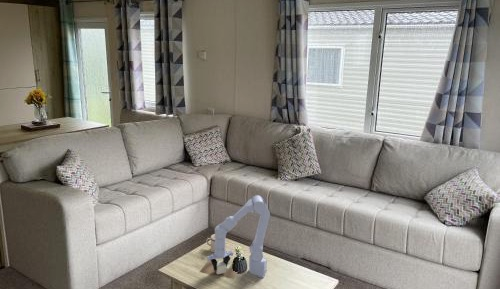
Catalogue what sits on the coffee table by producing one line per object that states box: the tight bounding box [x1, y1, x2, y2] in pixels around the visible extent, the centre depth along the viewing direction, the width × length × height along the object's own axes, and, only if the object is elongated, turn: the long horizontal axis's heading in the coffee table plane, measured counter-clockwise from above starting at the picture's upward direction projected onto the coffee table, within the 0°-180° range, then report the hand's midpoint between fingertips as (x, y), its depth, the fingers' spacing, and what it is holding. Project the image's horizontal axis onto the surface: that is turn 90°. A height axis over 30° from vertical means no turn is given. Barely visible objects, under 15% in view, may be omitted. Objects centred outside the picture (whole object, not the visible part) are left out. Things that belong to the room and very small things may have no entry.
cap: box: [216, 260, 226, 274], centre depth 218 cm, size 5×5×4 cm
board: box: [199, 260, 239, 279], centre depth 223 cm, size 20×14×4 cm
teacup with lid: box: [205, 233, 215, 253], centre depth 244 cm, size 12×9×12 cm
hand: (219, 269), depth 219 cm, fingers closed on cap, 5 cm apart
